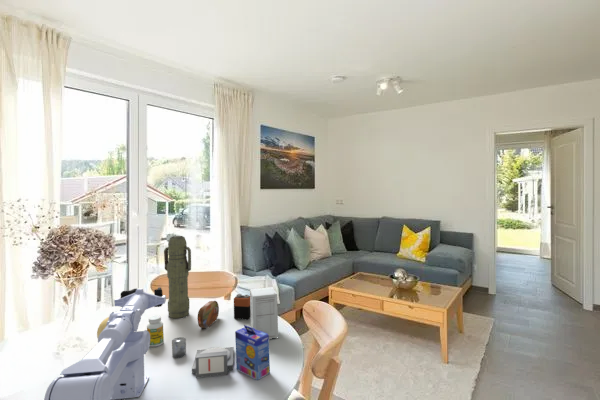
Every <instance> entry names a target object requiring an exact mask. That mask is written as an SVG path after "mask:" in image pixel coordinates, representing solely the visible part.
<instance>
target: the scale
mask: <svg viewBox="0 0 600 400" xmlns="http://www.w3.org/2000/svg"><path fill="white" fill-rule="evenodd" d="M234 351H235V348H234V346H232V347H230V346H229V347H220V346H219V347H210V348H206V349H197V350H196V354H195V357H194V360H193V363H192V367H191V375H195V378H196V379H197V378H198V379H200V378H208V377H219V376H227V375H228V371H232V370H233V368H234V367H233V366H234V356H235V355H234Z"/></svg>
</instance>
